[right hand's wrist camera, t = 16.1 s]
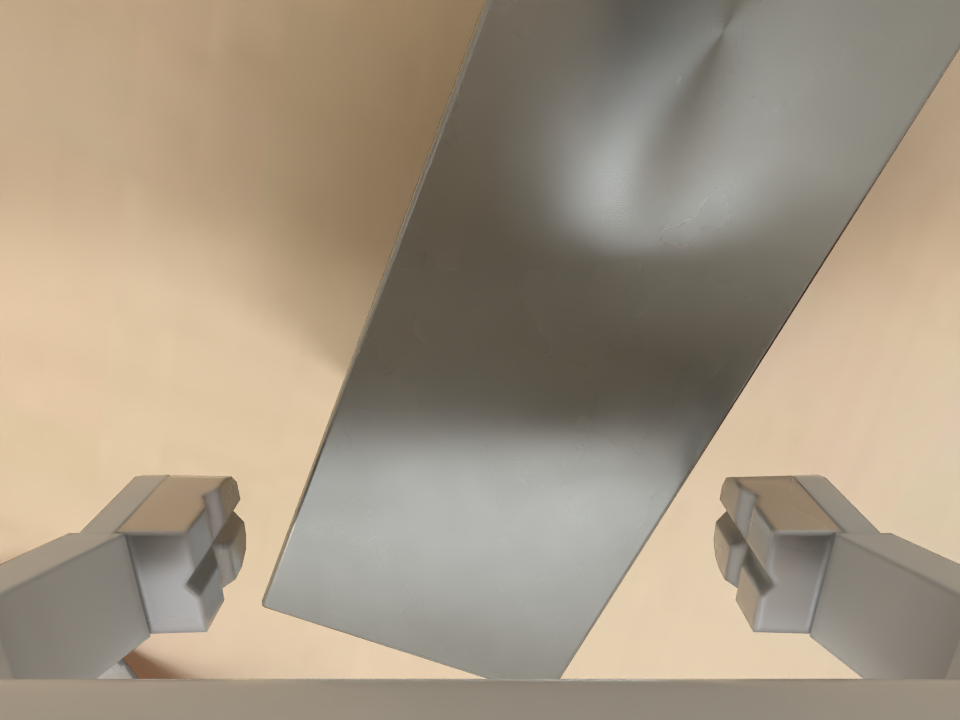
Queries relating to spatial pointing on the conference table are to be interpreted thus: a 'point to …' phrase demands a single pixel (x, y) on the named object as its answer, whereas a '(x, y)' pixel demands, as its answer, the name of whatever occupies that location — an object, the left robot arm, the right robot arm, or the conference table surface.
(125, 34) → the conference table surface
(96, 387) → the conference table surface
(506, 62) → the box
